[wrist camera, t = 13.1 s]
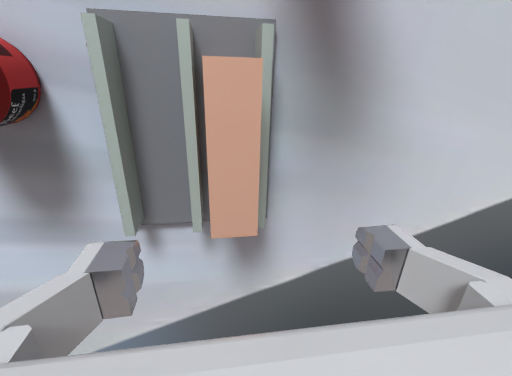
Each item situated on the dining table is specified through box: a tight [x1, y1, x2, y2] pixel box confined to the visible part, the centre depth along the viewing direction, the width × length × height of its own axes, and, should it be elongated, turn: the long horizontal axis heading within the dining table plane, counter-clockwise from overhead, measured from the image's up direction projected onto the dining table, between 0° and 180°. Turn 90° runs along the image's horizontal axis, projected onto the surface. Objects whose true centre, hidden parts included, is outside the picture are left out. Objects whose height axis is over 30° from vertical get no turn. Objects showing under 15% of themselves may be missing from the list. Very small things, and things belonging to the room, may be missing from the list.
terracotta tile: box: [202, 56, 263, 239], centre depth 25 cm, size 4×14×10 cm, turn 178°
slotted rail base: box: [81, 8, 276, 236], centre depth 27 cm, size 17×22×5 cm
